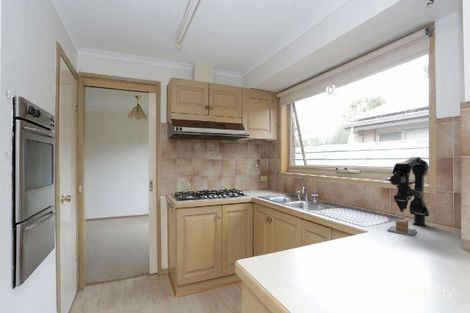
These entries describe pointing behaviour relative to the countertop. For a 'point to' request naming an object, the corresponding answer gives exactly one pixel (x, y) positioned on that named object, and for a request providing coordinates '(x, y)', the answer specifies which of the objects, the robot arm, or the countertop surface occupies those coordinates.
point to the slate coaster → (408, 232)
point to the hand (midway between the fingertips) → (403, 210)
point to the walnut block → (401, 225)
